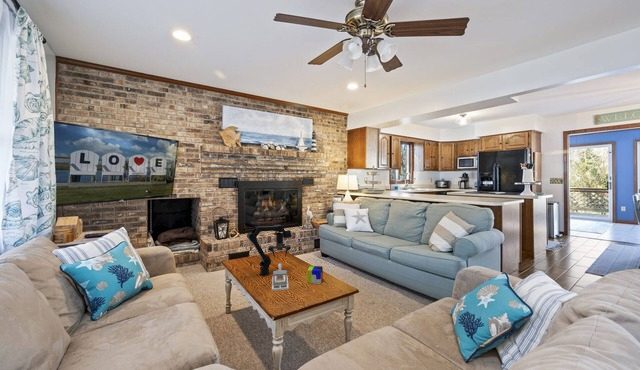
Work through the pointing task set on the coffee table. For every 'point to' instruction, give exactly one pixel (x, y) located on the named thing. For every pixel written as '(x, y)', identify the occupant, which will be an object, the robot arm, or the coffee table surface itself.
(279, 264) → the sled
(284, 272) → the tunnel
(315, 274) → the puzzle toy
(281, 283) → the board
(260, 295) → the coffee table surface
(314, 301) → the coffee table surface
